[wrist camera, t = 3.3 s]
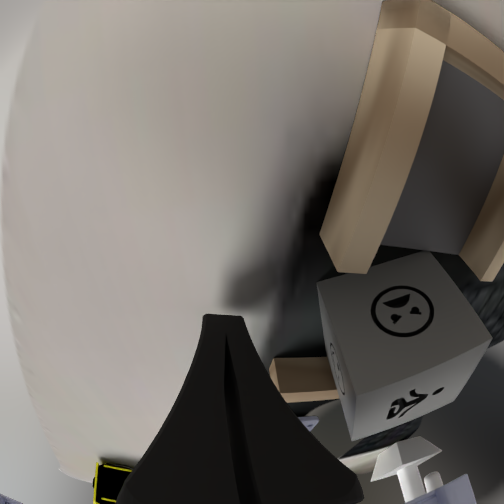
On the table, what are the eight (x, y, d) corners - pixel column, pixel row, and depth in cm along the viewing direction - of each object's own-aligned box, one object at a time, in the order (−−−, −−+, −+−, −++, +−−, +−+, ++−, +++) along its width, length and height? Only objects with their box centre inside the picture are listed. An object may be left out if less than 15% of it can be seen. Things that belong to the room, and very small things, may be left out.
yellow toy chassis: (139, 485, 35) (139, 531, 28) (103, 478, 33) (101, 524, 26) (144, 465, 26) (144, 531, 19) (94, 455, 25) (89, 521, 18)
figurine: (438, 424, 30) (470, 516, 18) (398, 452, 35) (422, 532, 23) (399, 436, 28) (430, 540, 16) (360, 461, 33) (382, 550, 21)
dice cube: (316, 281, 12) (356, 395, 8) (427, 248, 11) (492, 338, 7) (325, 351, 15) (351, 441, 11) (414, 322, 14) (453, 400, 10)
